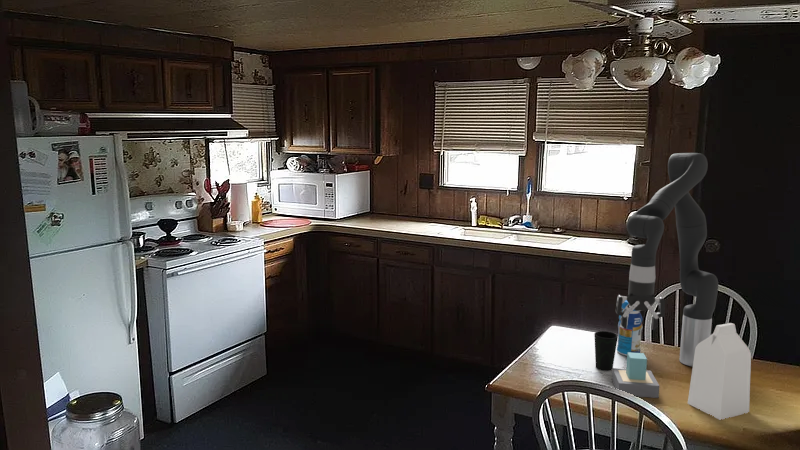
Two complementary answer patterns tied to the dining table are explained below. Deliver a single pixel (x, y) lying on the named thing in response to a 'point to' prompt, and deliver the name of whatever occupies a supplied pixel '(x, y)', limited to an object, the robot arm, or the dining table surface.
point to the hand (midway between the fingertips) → (638, 328)
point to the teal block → (636, 366)
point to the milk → (721, 374)
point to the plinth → (636, 384)
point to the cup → (605, 349)
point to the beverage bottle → (630, 332)
